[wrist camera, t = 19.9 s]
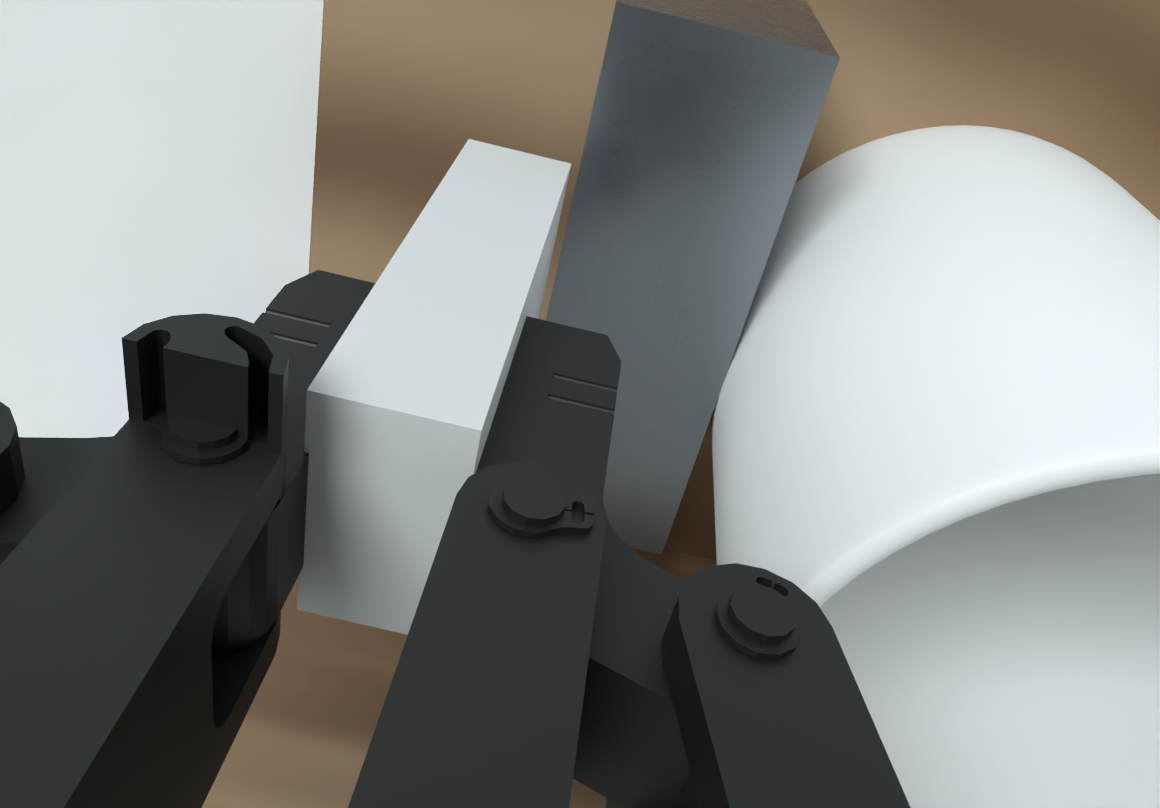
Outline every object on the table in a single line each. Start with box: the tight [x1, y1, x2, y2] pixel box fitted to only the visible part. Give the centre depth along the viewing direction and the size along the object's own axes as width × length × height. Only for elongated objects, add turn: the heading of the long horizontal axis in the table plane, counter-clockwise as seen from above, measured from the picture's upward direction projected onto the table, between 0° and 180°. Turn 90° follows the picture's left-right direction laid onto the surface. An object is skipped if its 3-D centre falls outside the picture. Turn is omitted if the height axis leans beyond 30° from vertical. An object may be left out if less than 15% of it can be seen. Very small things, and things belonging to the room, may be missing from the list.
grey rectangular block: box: [546, 0, 840, 555], centre depth 16 cm, size 9×3×4 cm, turn 168°
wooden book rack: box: [202, 0, 1160, 808], centre depth 15 cm, size 17×28×12 cm, turn 78°
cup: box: [711, 125, 1160, 808], centre depth 14 cm, size 8×12×10 cm
